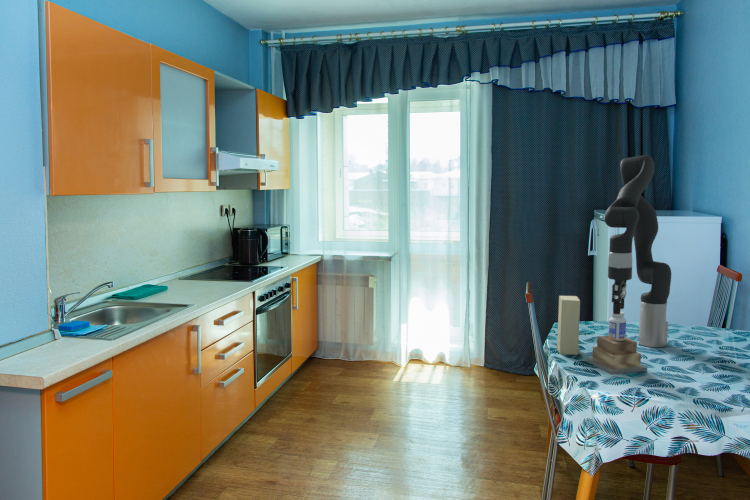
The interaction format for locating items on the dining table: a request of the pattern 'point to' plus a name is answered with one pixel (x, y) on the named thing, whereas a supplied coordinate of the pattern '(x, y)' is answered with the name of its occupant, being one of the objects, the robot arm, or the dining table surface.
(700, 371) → the dining table surface
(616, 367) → the brown block
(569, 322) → the tall beige block
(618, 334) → the pill bottle
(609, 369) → the base plate
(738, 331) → the dining table surface
